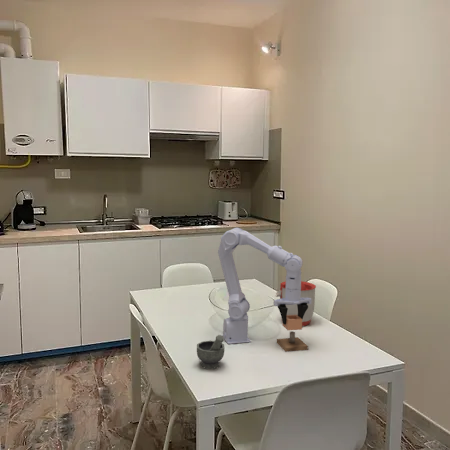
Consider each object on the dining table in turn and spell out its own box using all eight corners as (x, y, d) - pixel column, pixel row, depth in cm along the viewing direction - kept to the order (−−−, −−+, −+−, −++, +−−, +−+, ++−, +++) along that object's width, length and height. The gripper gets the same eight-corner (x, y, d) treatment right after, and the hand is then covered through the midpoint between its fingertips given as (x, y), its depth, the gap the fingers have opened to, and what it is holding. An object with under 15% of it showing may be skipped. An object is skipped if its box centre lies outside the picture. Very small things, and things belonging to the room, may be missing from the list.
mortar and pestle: (190, 363, 158) (191, 330, 157) (212, 357, 164) (213, 324, 163) (210, 375, 150) (210, 340, 148) (232, 368, 155) (233, 334, 154)
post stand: (285, 351, 170) (285, 337, 169) (276, 342, 178) (276, 329, 178) (307, 349, 172) (308, 335, 172) (297, 340, 181) (298, 327, 180)
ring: (287, 330, 170) (288, 320, 170) (282, 325, 176) (282, 315, 175) (301, 329, 171) (302, 319, 171) (296, 324, 177) (296, 314, 176)
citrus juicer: (273, 316, 210) (274, 273, 208) (311, 317, 210) (313, 274, 207) (276, 328, 195) (277, 282, 192) (317, 329, 194) (319, 283, 192)
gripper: (278, 291, 166) (277, 327, 168) (315, 289, 170) (314, 325, 172) (272, 286, 173) (271, 321, 175) (307, 284, 177) (306, 319, 178)
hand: (291, 323), depth 174 cm, fingers closed on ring, 6 cm apart
